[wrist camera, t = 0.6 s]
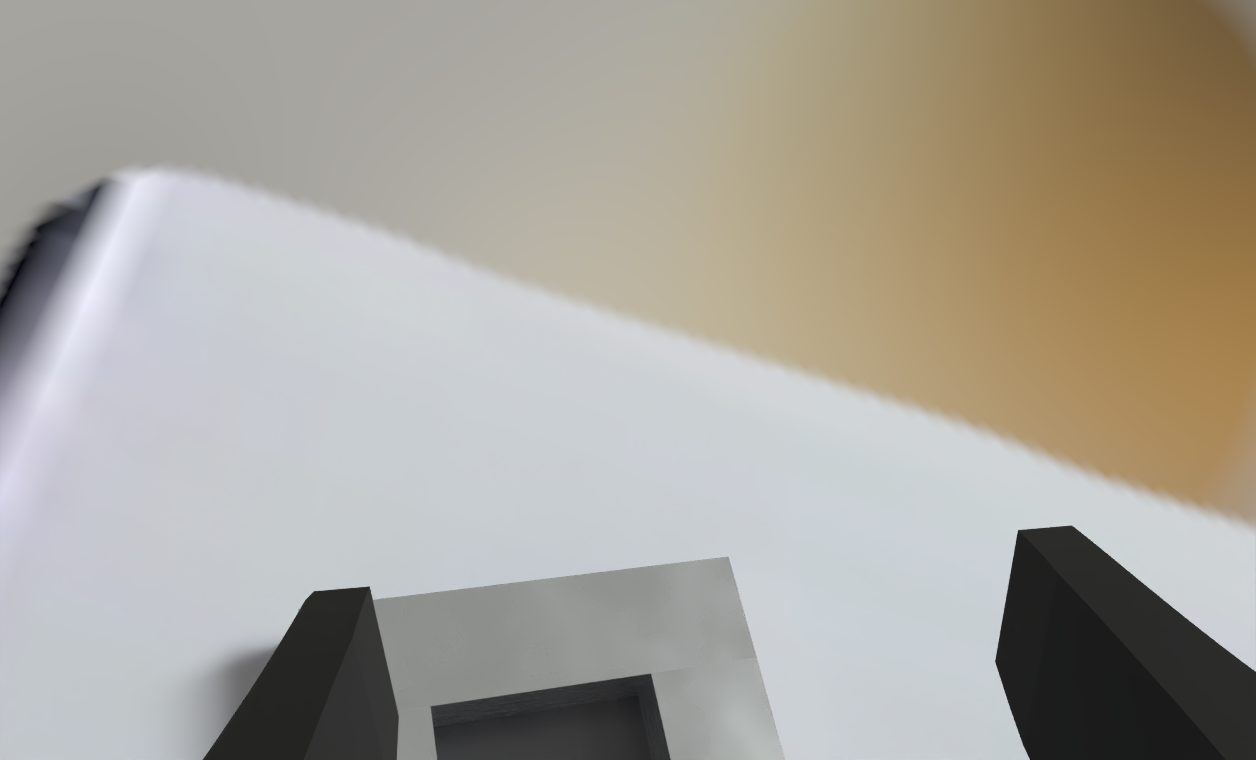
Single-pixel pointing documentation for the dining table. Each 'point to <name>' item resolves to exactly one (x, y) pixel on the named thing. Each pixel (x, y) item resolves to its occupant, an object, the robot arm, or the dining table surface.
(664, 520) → the dining table surface
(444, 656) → the socket plate
